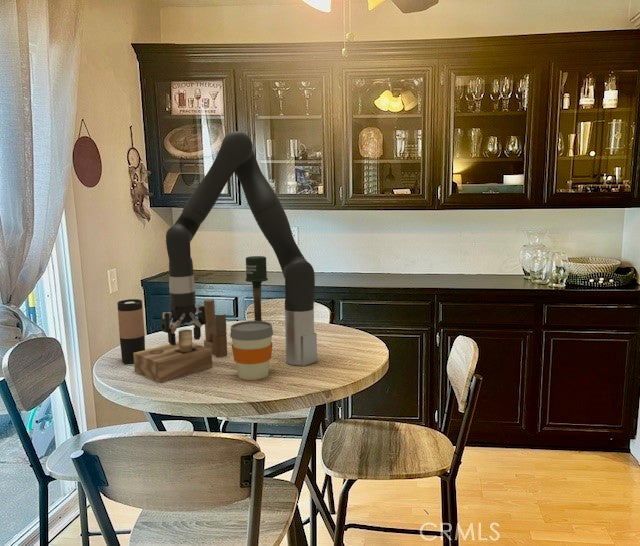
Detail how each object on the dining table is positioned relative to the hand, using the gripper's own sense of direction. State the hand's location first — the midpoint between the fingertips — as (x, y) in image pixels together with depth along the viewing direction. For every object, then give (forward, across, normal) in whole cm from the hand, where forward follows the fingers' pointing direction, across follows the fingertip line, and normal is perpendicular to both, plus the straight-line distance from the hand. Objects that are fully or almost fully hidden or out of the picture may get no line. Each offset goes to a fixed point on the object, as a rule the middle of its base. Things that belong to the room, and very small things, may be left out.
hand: (185, 342), depth 158 cm
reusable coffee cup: (+9, +10, -20) cm, 24 cm away
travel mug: (+9, -7, +20) cm, 23 cm away
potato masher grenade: (+9, +42, +15) cm, 45 cm away
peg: (+9, 0, 0) cm, 9 cm away
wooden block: (+9, +16, +7) cm, 20 cm away
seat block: (+9, -3, +2) cm, 9 cm away
